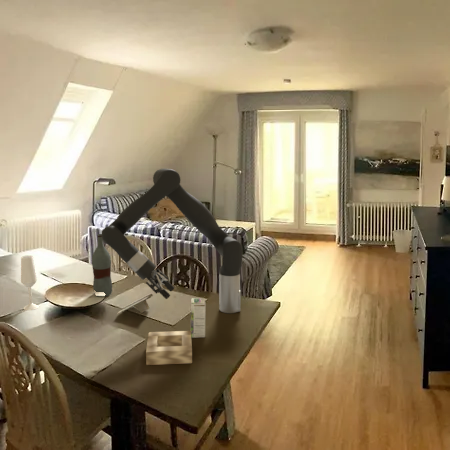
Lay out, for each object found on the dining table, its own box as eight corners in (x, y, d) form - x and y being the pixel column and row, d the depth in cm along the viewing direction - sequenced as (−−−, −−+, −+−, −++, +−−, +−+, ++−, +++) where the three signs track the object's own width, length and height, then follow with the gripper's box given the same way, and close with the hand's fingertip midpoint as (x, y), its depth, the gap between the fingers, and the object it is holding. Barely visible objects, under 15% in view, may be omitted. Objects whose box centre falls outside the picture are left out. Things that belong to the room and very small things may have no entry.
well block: (191, 342, 189) (191, 330, 188) (192, 363, 173) (191, 350, 172) (149, 344, 187) (148, 332, 186) (146, 364, 172) (146, 351, 171)
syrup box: (190, 331, 198) (190, 298, 195) (205, 331, 199) (205, 297, 196) (191, 338, 193) (190, 303, 190) (206, 337, 193) (205, 303, 190)
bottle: (112, 296, 237) (109, 236, 230) (93, 298, 235) (89, 237, 229) (112, 290, 246) (109, 232, 239) (94, 291, 244) (90, 232, 238)
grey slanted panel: (128, 329, 210) (154, 307, 209) (115, 314, 210) (141, 291, 209) (137, 320, 226) (161, 299, 225) (125, 305, 226) (149, 285, 225)
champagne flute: (41, 304, 227) (37, 254, 221) (36, 310, 220) (31, 258, 215) (26, 304, 226) (22, 254, 221) (21, 310, 220) (16, 258, 215)
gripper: (143, 263, 184) (173, 293, 185) (151, 253, 198) (180, 281, 199) (129, 276, 185) (160, 306, 187) (139, 265, 199) (167, 293, 201)
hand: (170, 293), depth 193 cm, fingers open, 8 cm apart
